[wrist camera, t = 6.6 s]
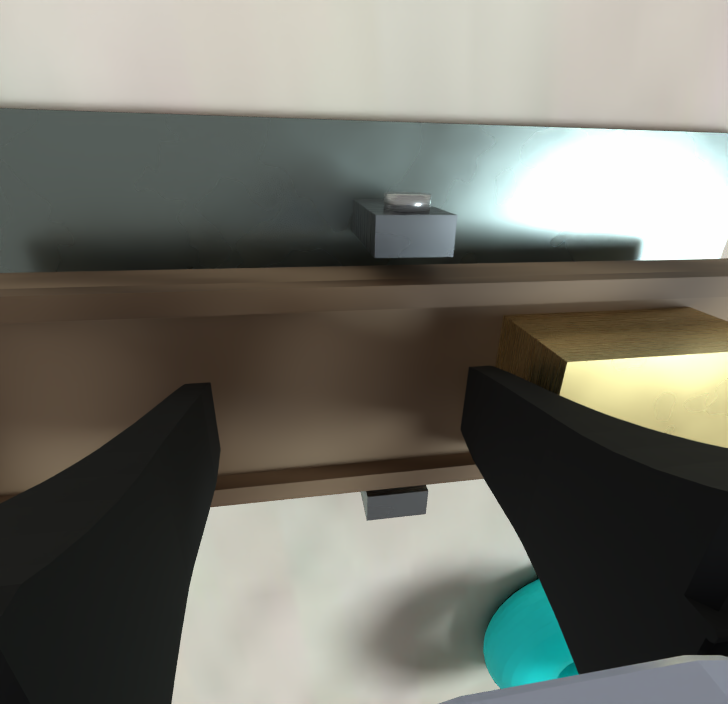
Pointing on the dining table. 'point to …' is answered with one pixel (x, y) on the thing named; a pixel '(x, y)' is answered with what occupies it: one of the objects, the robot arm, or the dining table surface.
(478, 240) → the stand
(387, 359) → the brown long flat tray
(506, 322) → the block
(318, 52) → the dining table surface
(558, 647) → the donuts
